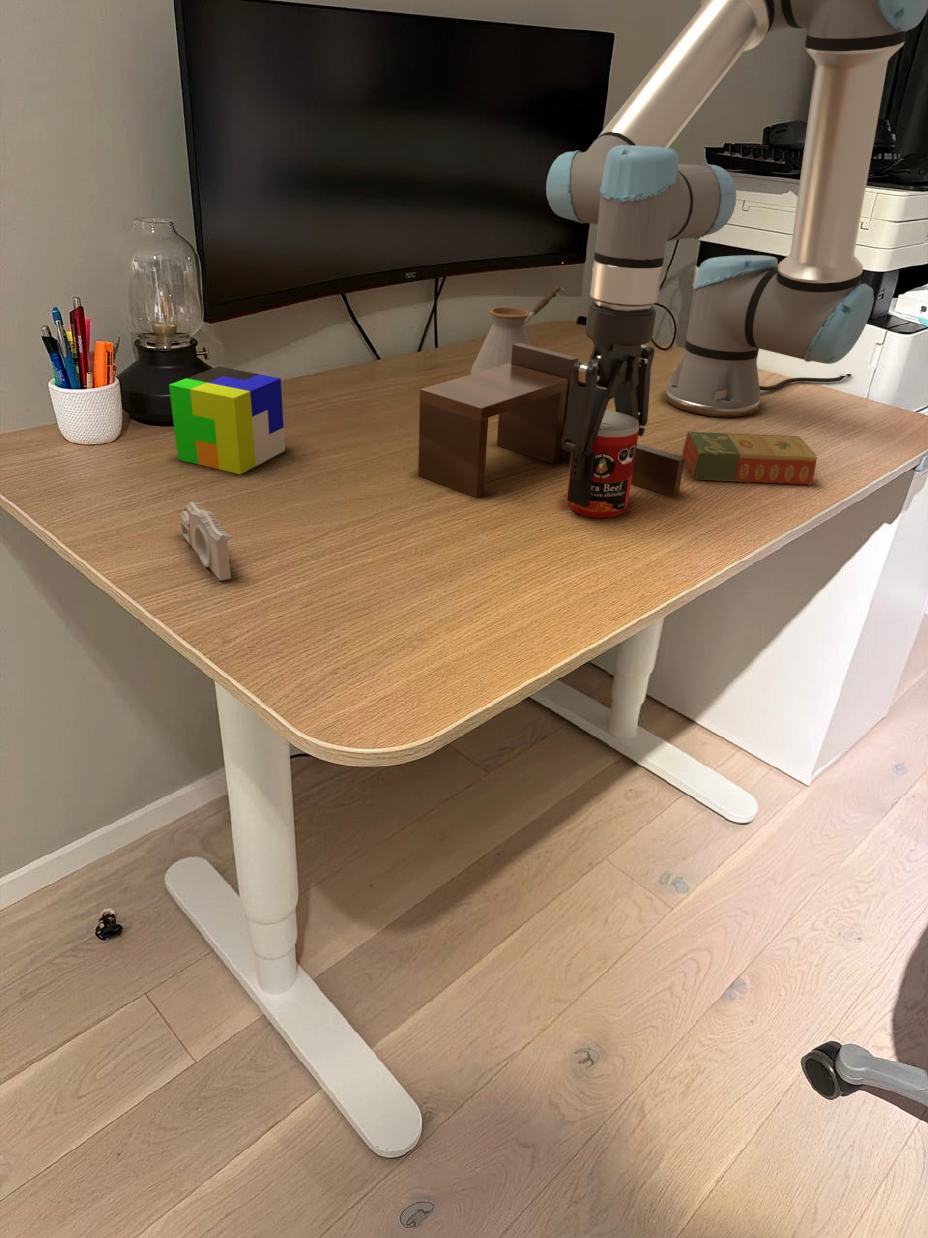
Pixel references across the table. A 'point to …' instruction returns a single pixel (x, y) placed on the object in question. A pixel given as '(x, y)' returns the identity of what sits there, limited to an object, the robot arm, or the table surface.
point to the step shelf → (514, 423)
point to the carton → (749, 458)
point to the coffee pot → (507, 334)
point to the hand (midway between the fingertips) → (598, 492)
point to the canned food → (611, 466)
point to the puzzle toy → (228, 419)
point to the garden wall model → (207, 539)
